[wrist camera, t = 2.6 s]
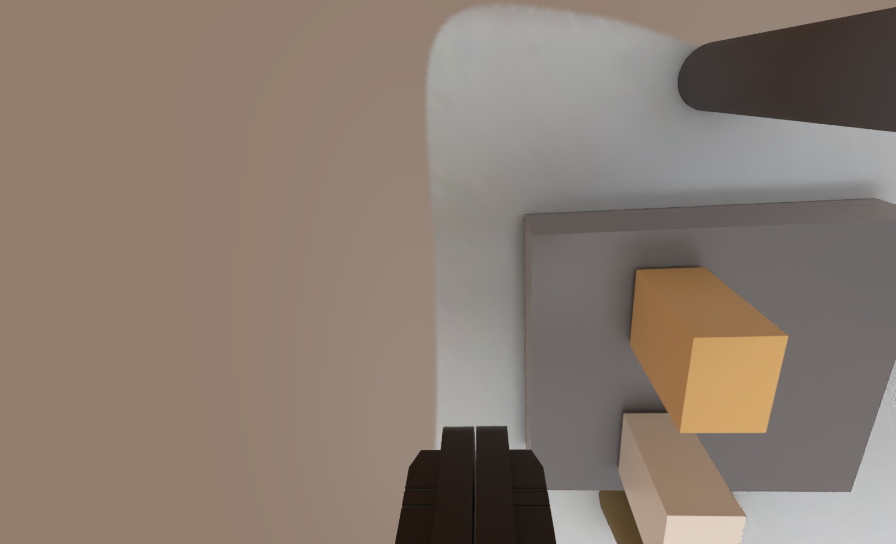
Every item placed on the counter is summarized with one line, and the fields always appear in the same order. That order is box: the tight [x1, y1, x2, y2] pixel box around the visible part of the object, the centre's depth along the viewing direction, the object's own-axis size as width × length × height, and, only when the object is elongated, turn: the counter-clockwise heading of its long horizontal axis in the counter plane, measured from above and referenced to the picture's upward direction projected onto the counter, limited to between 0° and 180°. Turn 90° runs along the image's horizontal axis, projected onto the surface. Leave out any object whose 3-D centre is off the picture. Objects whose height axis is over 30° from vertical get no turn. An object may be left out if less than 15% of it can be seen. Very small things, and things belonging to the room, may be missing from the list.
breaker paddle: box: [630, 267, 788, 433], centre depth 15 cm, size 2×3×5 cm
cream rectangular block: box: [618, 413, 746, 544], centre depth 18 cm, size 2×3×5 cm
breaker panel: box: [525, 199, 896, 492], centre depth 20 cm, size 14×12×3 cm
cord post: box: [678, 7, 896, 132], centre depth 11 cm, size 2×2×14 cm
